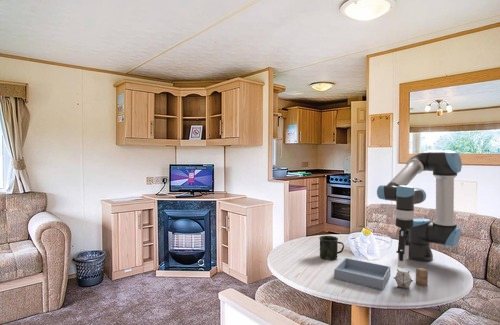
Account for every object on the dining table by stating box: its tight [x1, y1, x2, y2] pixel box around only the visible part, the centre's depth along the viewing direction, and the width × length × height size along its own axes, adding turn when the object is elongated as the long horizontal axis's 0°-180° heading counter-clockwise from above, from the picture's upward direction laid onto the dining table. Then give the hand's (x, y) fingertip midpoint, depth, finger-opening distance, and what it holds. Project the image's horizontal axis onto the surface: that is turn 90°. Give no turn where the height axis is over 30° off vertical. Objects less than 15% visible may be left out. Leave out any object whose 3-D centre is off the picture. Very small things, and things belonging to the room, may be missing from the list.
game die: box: [393, 269, 414, 290], centre depth 147 cm, size 9×8×10 cm
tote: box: [333, 257, 391, 291], centre depth 159 cm, size 19×23×5 cm
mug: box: [318, 235, 345, 261], centre depth 187 cm, size 11×15×12 cm
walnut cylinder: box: [415, 267, 429, 287], centre depth 151 cm, size 5×5×7 cm
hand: (403, 262), depth 147 cm, fingers open, 13 cm apart
